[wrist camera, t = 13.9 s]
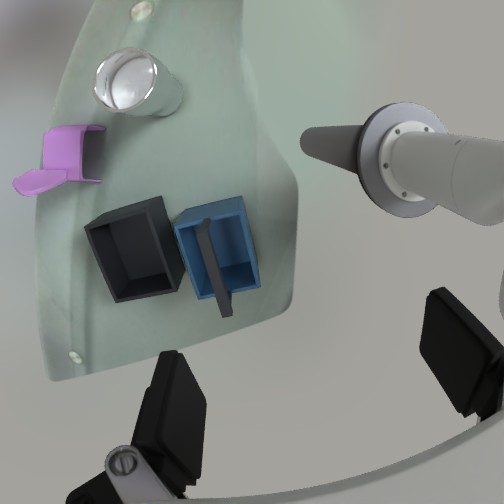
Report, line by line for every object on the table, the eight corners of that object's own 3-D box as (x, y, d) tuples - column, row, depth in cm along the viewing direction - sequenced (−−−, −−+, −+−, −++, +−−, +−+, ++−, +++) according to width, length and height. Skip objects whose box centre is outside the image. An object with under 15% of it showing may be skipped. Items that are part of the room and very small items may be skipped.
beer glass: (145, 126, 37) (97, 125, 23) (135, 82, 34) (86, 62, 20) (192, 111, 36) (165, 100, 22) (182, 66, 34) (152, 35, 20)
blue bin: (241, 195, 41) (242, 223, 29) (257, 261, 45) (263, 309, 33) (185, 209, 42) (162, 241, 29) (204, 272, 46) (192, 323, 33)
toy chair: (111, 124, 36) (53, 125, 22) (107, 182, 39) (52, 208, 25) (66, 126, 35) (3, 131, 21) (64, 180, 39) (4, 205, 25)
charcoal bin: (161, 195, 41) (148, 206, 34) (185, 270, 45) (177, 291, 39) (103, 213, 41) (83, 226, 35) (129, 282, 46) (115, 303, 40)
